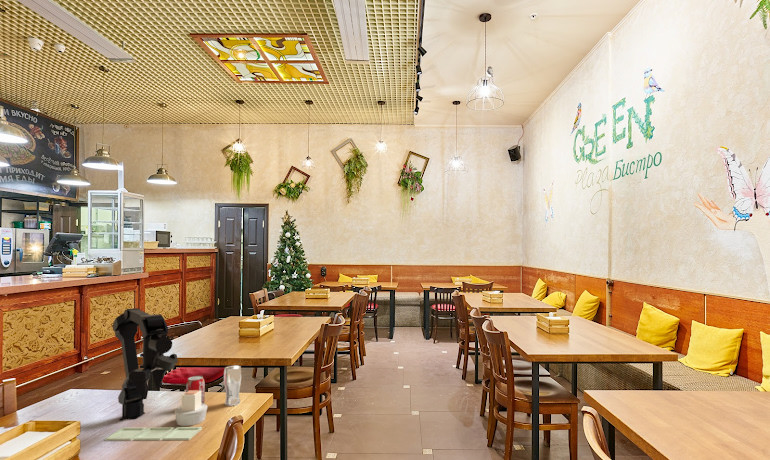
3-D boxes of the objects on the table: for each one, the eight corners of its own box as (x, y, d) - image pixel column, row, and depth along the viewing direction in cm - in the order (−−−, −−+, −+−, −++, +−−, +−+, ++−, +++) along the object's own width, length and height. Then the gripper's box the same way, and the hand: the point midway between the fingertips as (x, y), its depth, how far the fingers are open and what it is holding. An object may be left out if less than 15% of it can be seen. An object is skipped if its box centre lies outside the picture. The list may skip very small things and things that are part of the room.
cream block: (181, 410, 154) (181, 394, 155) (188, 405, 159) (188, 389, 160) (194, 410, 154) (194, 394, 154) (201, 405, 159) (201, 389, 159)
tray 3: (163, 441, 140) (163, 438, 140) (177, 430, 149) (177, 427, 149) (189, 441, 140) (189, 438, 140) (201, 429, 149) (201, 427, 149)
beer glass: (230, 407, 170) (231, 370, 171) (220, 404, 174) (220, 368, 175) (244, 402, 176) (244, 366, 177) (234, 399, 180) (234, 364, 181)
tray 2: (133, 441, 140) (134, 438, 140) (149, 430, 149) (149, 427, 149) (160, 441, 140) (160, 438, 140) (174, 430, 149) (174, 427, 149)
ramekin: (206, 414, 164) (206, 401, 164) (208, 424, 154) (208, 410, 154) (174, 420, 159) (175, 405, 159) (174, 430, 149) (174, 415, 149)
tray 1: (105, 441, 141) (105, 438, 141) (122, 430, 150) (122, 427, 150) (131, 441, 140) (131, 438, 140) (147, 430, 149) (147, 427, 149)
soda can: (197, 410, 167) (197, 380, 168) (181, 410, 169) (182, 379, 170) (208, 404, 174) (208, 375, 175) (193, 403, 176) (193, 375, 176)
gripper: (159, 355, 144) (158, 401, 143) (185, 343, 163) (185, 384, 162) (127, 355, 144) (126, 401, 143) (157, 344, 163) (157, 384, 162)
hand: (151, 392), depth 153 cm, fingers open, 9 cm apart
